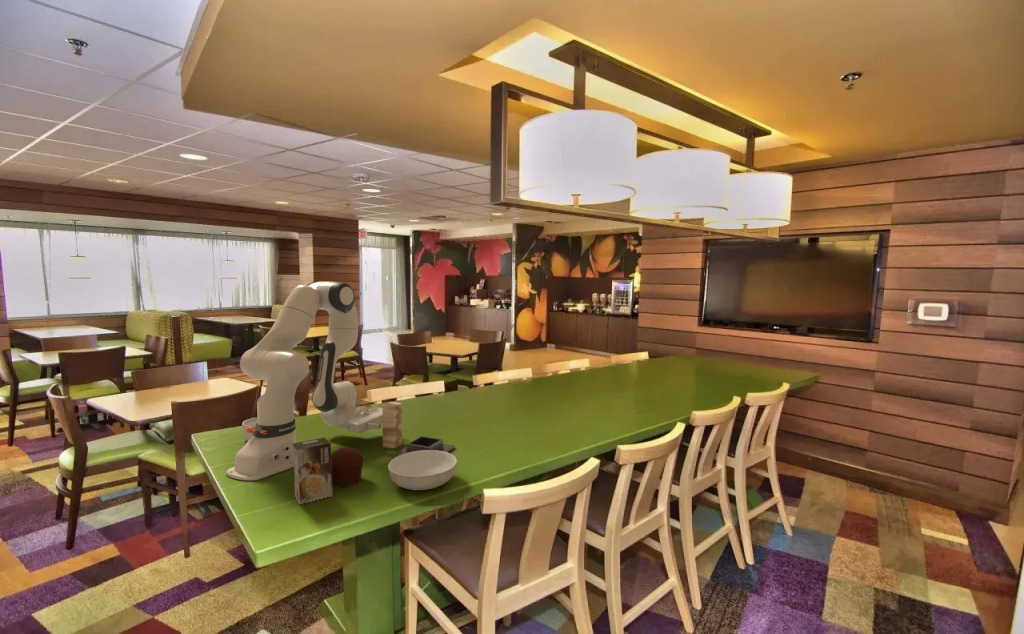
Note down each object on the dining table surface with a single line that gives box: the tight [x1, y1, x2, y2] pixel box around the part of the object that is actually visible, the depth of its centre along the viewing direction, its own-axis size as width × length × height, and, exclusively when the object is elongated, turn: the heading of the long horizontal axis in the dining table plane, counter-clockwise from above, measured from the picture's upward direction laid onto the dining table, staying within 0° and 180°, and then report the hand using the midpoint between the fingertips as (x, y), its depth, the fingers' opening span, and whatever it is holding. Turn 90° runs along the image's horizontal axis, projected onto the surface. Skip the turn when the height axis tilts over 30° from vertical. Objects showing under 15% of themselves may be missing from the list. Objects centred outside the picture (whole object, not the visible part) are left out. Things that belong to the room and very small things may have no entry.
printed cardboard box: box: [293, 437, 334, 505], centre depth 132 cm, size 9×6×16 cm
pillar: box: [381, 401, 403, 449], centre depth 173 cm, size 5×5×16 cm
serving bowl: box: [387, 450, 458, 491], centre depth 142 cm, size 21×21×7 cm
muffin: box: [331, 446, 365, 488], centre depth 143 cm, size 12×11×10 cm
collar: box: [393, 435, 456, 458], centre depth 168 cm, size 16×16×4 cm
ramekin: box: [241, 417, 258, 442], centre depth 181 cm, size 13×13×7 cm
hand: (387, 422), depth 174 cm, fingers open, 8 cm apart
